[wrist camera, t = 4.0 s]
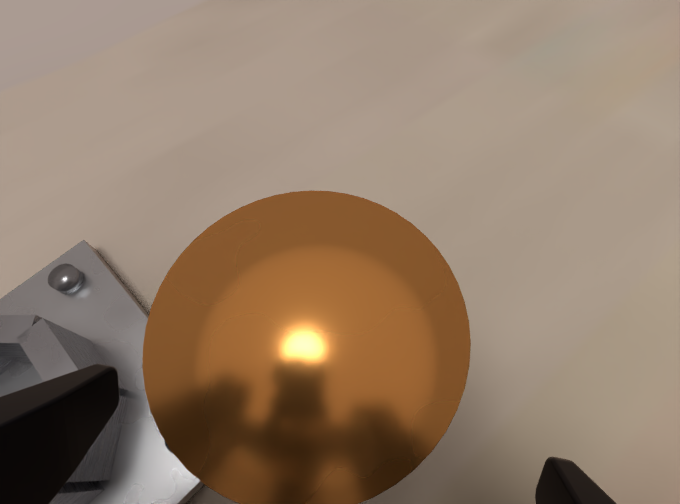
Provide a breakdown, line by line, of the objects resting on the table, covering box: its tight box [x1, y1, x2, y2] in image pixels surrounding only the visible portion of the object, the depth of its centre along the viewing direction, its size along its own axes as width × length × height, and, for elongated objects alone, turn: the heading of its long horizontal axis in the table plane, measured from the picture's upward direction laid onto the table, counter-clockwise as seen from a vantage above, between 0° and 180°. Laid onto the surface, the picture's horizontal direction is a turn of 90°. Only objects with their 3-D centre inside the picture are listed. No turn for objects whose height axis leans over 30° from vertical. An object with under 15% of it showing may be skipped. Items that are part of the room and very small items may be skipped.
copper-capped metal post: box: [142, 191, 471, 504], centre depth 11 cm, size 4×4×12 cm
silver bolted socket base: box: [0, 240, 205, 504], centre depth 15 cm, size 12×12×4 cm
